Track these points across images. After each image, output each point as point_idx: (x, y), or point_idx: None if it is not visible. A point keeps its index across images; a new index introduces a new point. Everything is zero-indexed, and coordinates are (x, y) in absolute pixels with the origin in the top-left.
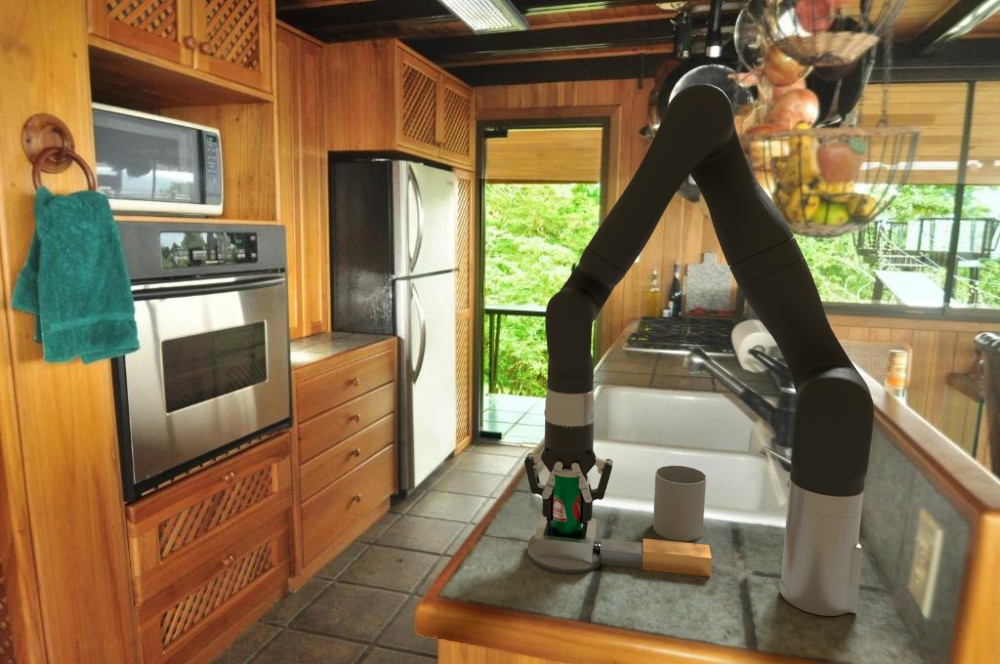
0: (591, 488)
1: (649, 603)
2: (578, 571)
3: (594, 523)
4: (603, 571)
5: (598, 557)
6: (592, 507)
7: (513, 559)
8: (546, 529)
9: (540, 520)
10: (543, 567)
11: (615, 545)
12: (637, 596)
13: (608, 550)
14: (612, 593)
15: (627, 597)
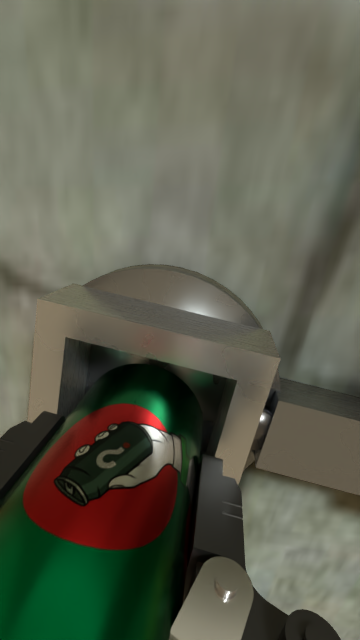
0: (241, 636)
1: (330, 596)
2: None
3: (260, 402)
4: (253, 470)
5: (245, 468)
6: (242, 527)
7: (13, 395)
8: (70, 379)
9: (34, 364)
10: None
11: (317, 449)
12: (311, 571)
13: (282, 474)
14: (252, 554)
15: (285, 571)
